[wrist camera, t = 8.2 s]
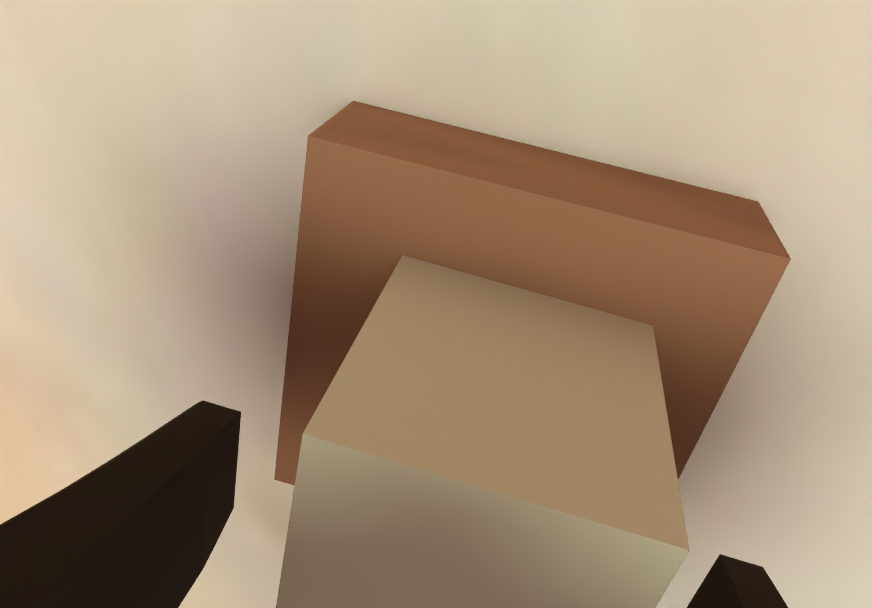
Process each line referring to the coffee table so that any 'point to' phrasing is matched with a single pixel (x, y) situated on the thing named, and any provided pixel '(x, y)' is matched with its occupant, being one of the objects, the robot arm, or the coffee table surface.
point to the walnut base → (520, 251)
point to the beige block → (486, 457)
